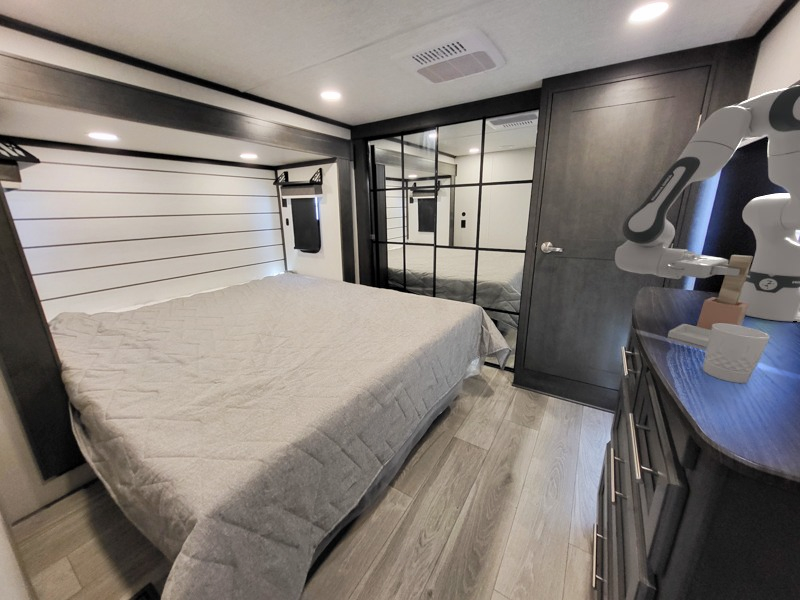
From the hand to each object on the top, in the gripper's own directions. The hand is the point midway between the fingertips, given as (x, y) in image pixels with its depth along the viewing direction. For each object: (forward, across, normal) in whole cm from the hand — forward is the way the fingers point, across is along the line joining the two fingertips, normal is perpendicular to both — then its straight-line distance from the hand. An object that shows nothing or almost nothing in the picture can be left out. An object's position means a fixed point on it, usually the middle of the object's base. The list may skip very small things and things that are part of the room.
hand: (742, 271), depth 82 cm
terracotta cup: (-1, 0, +18) cm, 18 cm away
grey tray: (-1, -14, +18) cm, 23 cm away
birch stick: (-1, 0, +14) cm, 14 cm away
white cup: (+7, -32, +18) cm, 37 cm away
